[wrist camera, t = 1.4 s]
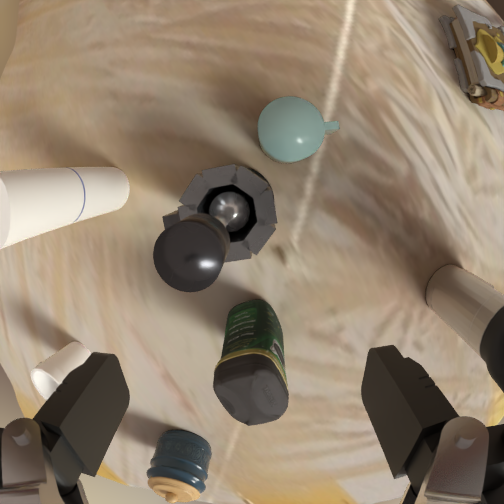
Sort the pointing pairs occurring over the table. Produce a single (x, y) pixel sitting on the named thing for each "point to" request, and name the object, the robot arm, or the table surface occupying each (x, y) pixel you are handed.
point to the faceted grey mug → (240, 182)
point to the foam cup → (58, 367)
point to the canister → (179, 466)
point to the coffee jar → (252, 365)
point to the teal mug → (292, 129)
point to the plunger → (199, 244)
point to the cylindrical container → (56, 198)
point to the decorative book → (477, 56)
